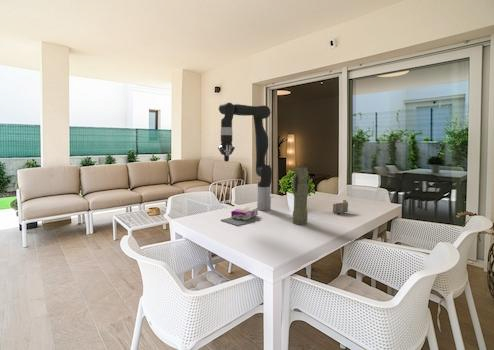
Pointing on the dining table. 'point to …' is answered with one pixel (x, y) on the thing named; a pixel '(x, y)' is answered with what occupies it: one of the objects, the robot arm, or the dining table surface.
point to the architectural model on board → (340, 207)
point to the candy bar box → (244, 213)
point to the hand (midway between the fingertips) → (226, 161)
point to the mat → (239, 221)
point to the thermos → (300, 195)
